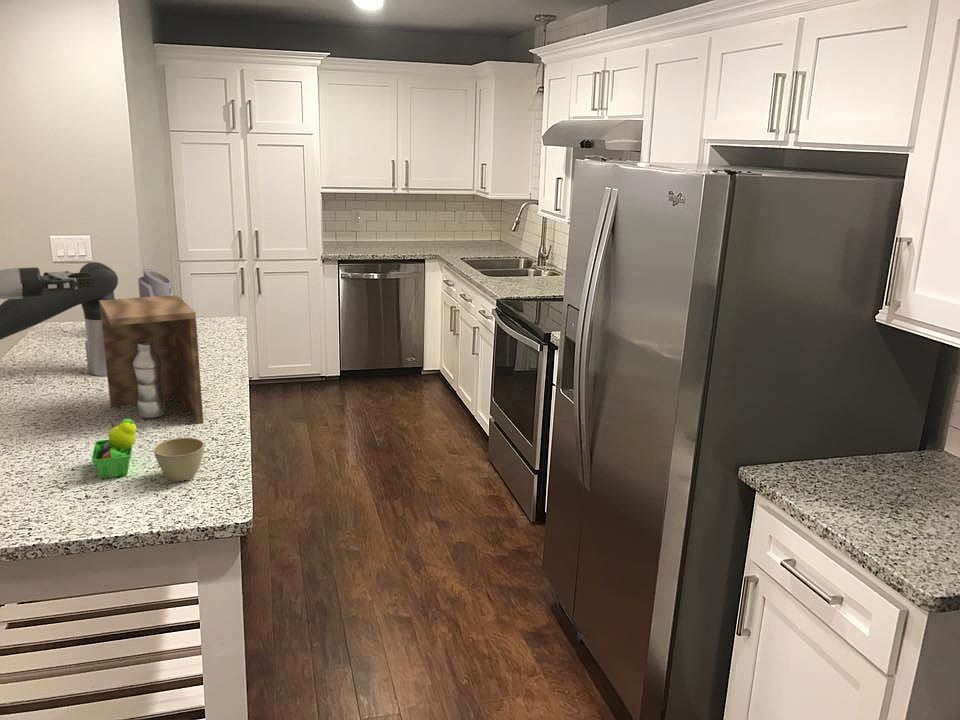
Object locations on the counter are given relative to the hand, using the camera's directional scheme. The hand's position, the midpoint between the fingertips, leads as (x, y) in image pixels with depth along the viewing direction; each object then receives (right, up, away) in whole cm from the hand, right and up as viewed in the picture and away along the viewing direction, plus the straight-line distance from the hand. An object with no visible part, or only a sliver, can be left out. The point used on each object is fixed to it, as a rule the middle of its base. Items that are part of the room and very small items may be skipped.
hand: (91, 279), depth 196 cm
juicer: (-19, -13, +77) cm, 80 cm away
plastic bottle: (+15, -36, +1) cm, 39 cm away
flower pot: (+36, -46, -32) cm, 67 cm away
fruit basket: (+21, -45, -30) cm, 58 cm away
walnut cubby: (+15, -35, +3) cm, 39 cm away
